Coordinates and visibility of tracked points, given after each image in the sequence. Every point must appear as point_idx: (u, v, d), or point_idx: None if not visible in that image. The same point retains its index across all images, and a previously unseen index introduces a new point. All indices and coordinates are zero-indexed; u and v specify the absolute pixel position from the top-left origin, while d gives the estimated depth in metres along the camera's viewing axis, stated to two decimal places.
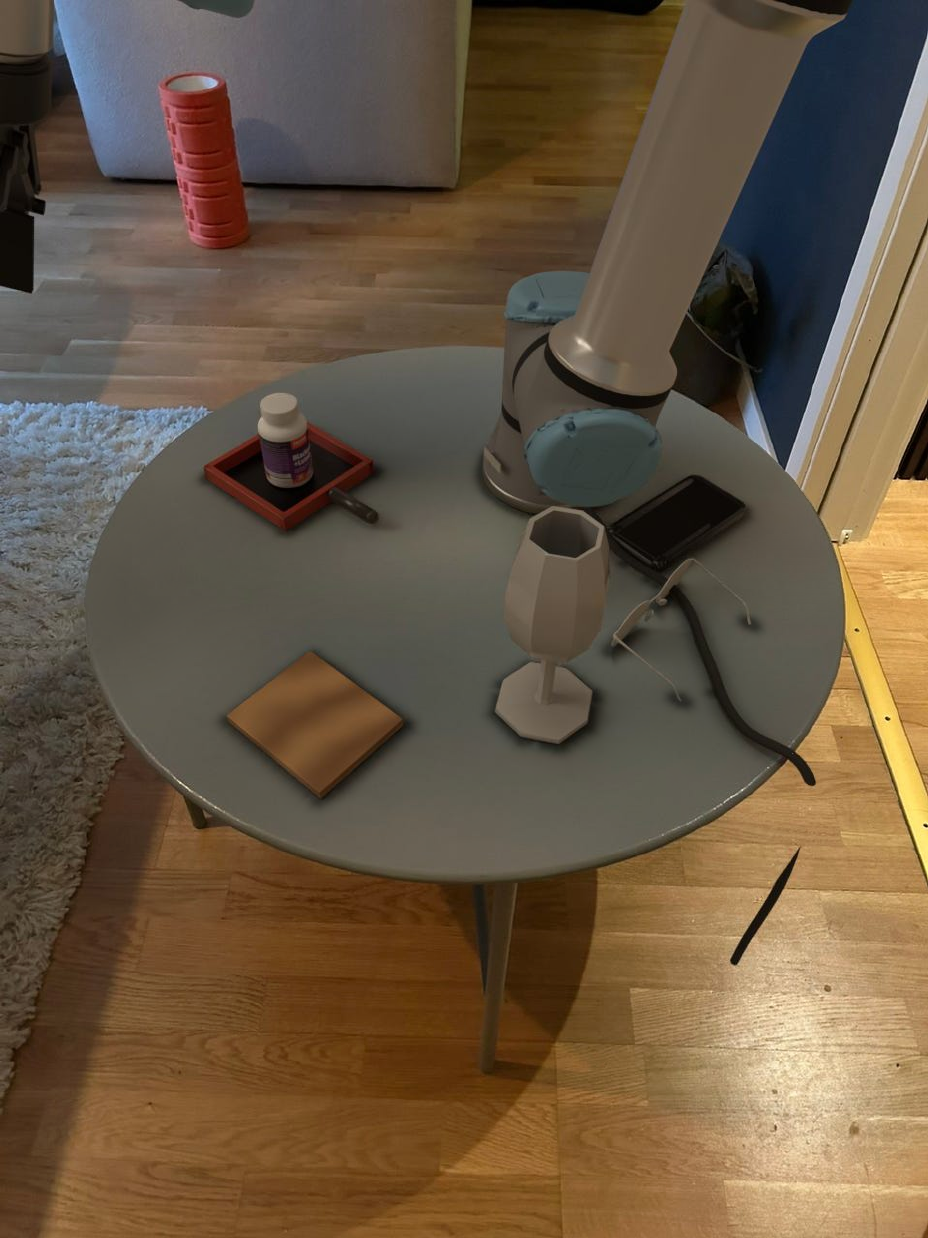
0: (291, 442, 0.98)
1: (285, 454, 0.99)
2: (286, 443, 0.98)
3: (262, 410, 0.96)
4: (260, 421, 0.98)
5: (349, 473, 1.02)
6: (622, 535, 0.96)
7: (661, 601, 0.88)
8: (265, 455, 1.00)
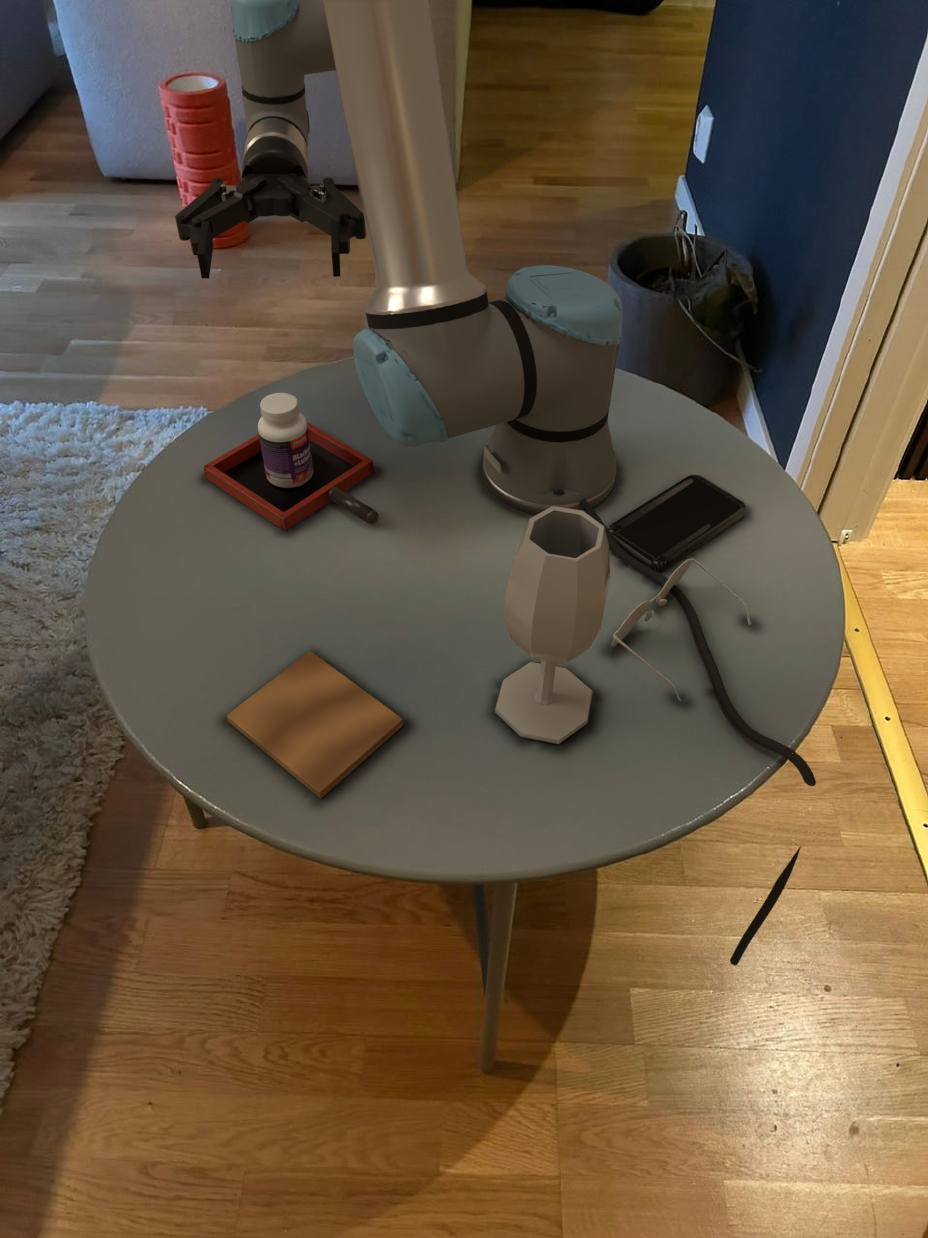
0: (291, 442, 0.98)
1: (285, 454, 0.99)
2: (286, 443, 0.98)
3: (262, 410, 0.96)
4: (260, 421, 0.98)
5: (349, 473, 1.02)
6: (622, 535, 0.96)
7: (661, 601, 0.88)
8: (265, 455, 1.00)
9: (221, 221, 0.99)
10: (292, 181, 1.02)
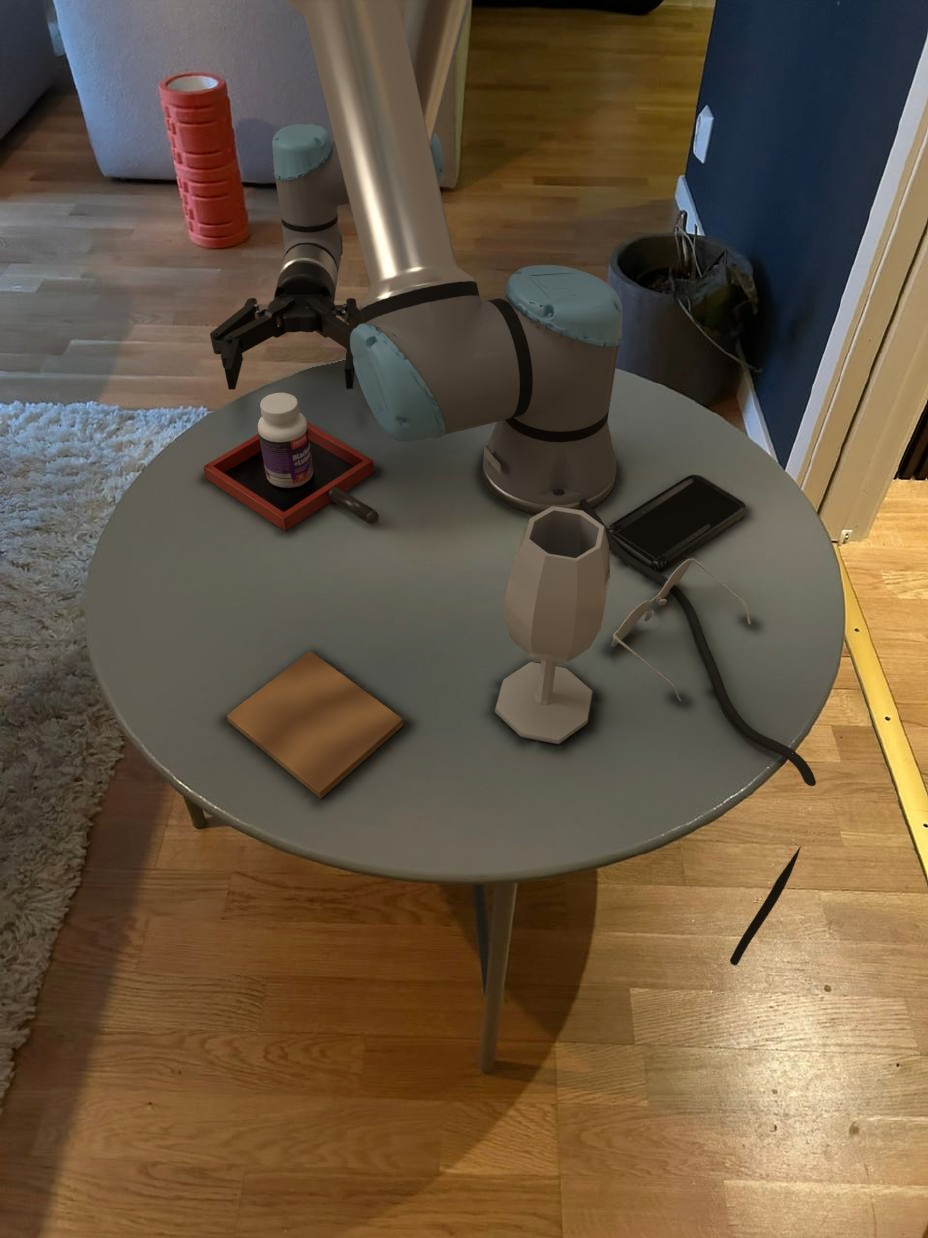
0: (291, 442, 0.98)
1: (285, 454, 0.99)
2: (286, 443, 0.98)
3: (262, 410, 0.96)
4: (260, 421, 0.98)
5: (349, 473, 1.02)
6: (622, 535, 0.96)
7: (661, 601, 0.88)
8: (265, 455, 1.00)
9: (251, 337, 1.10)
10: (317, 302, 1.12)
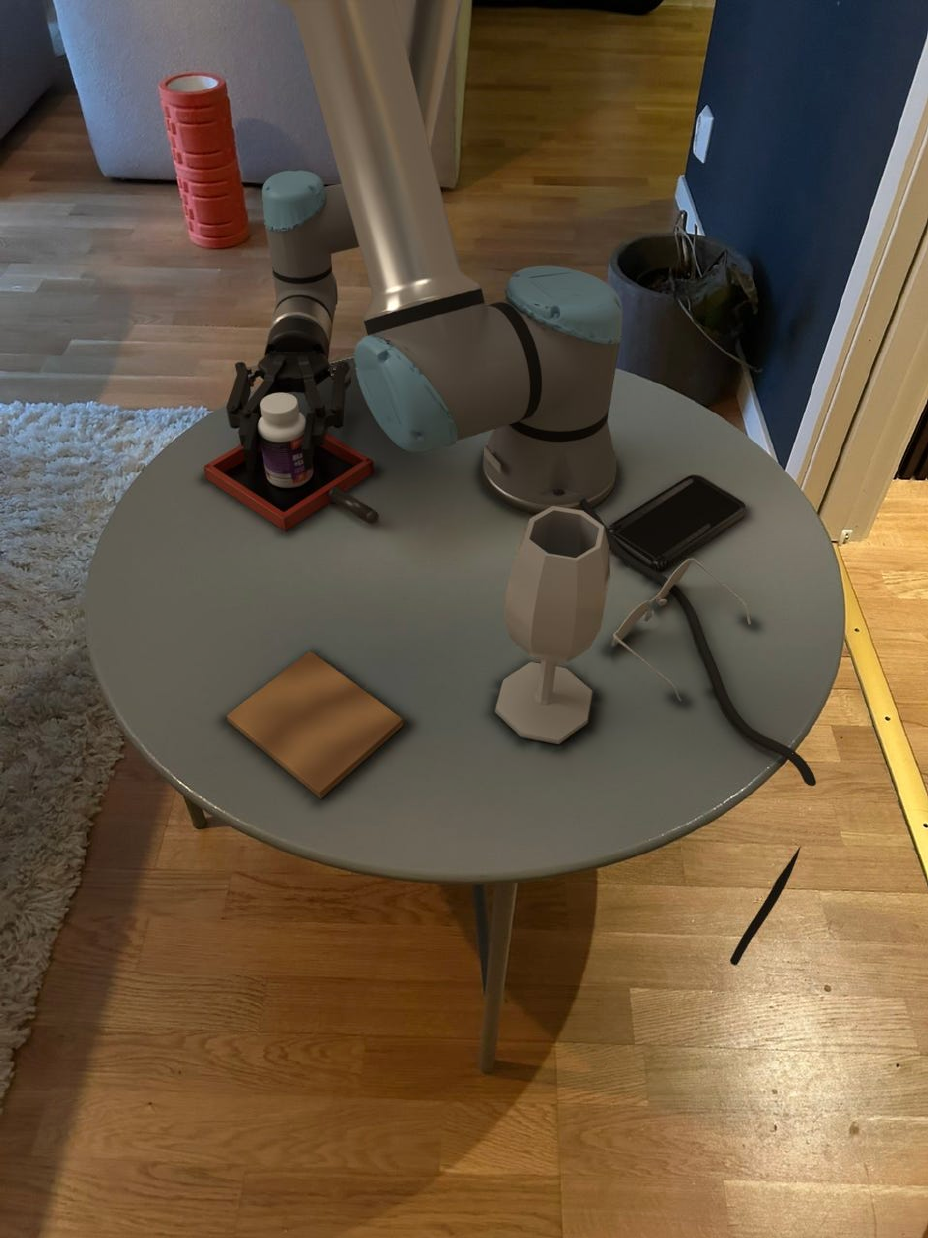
0: (291, 442, 0.98)
1: (285, 454, 0.99)
2: (286, 443, 0.98)
3: (262, 410, 0.96)
4: (260, 421, 0.98)
5: (349, 473, 1.02)
6: (622, 535, 0.96)
7: (661, 601, 0.88)
8: (265, 455, 1.00)
9: None
10: (307, 362, 1.05)
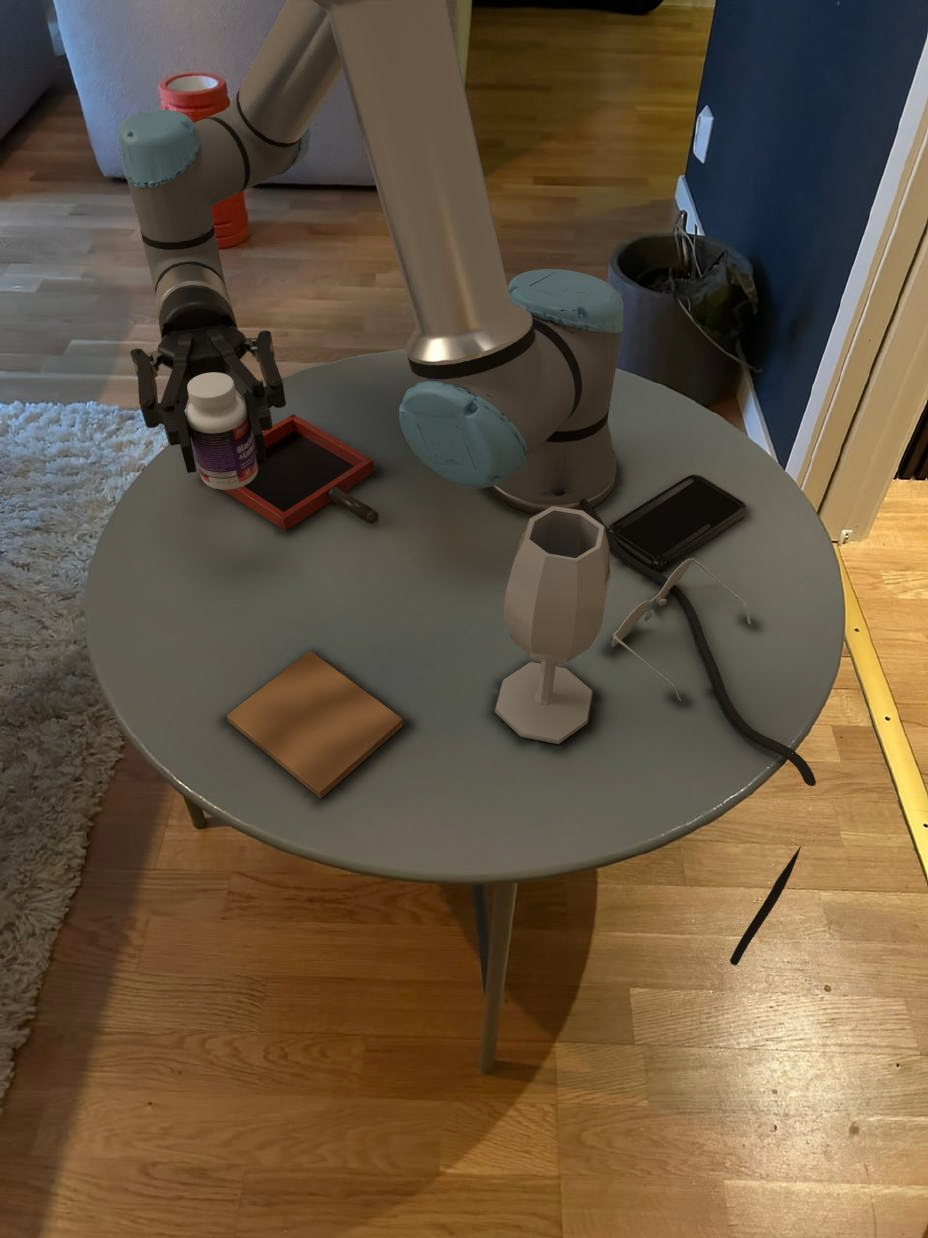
0: (234, 430, 0.80)
1: (227, 447, 0.80)
2: (228, 433, 0.79)
3: (193, 396, 0.78)
4: (189, 411, 0.79)
5: (349, 473, 1.02)
6: (622, 535, 0.96)
7: (661, 601, 0.88)
8: (201, 453, 0.81)
9: (182, 395, 0.83)
10: (221, 337, 0.87)
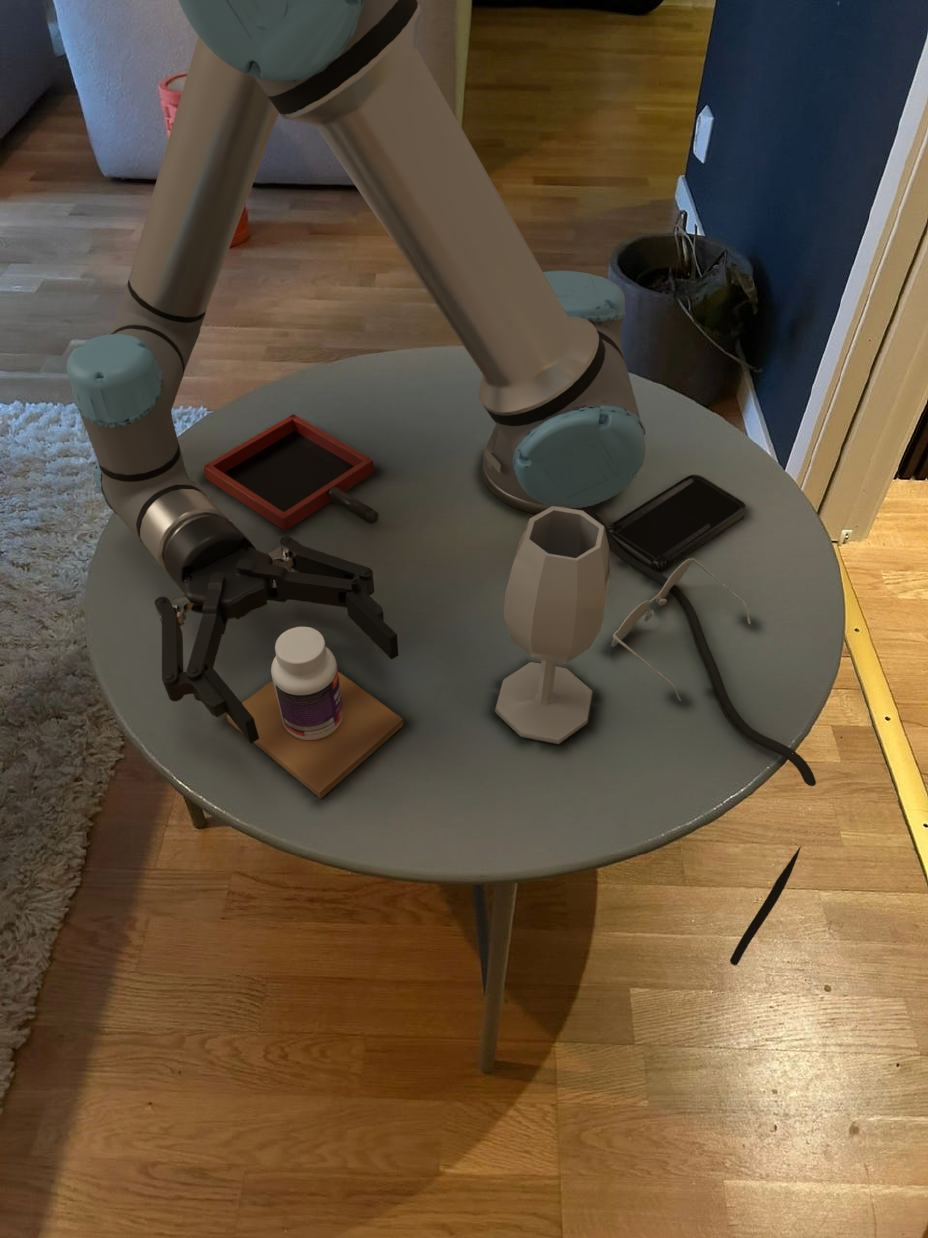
0: (332, 682, 0.74)
1: (327, 699, 0.75)
2: (328, 687, 0.74)
3: (290, 664, 0.72)
4: (280, 677, 0.73)
5: (349, 473, 1.02)
6: (622, 535, 0.96)
7: (661, 601, 0.88)
8: (298, 713, 0.75)
9: (211, 654, 0.75)
10: (256, 563, 0.80)
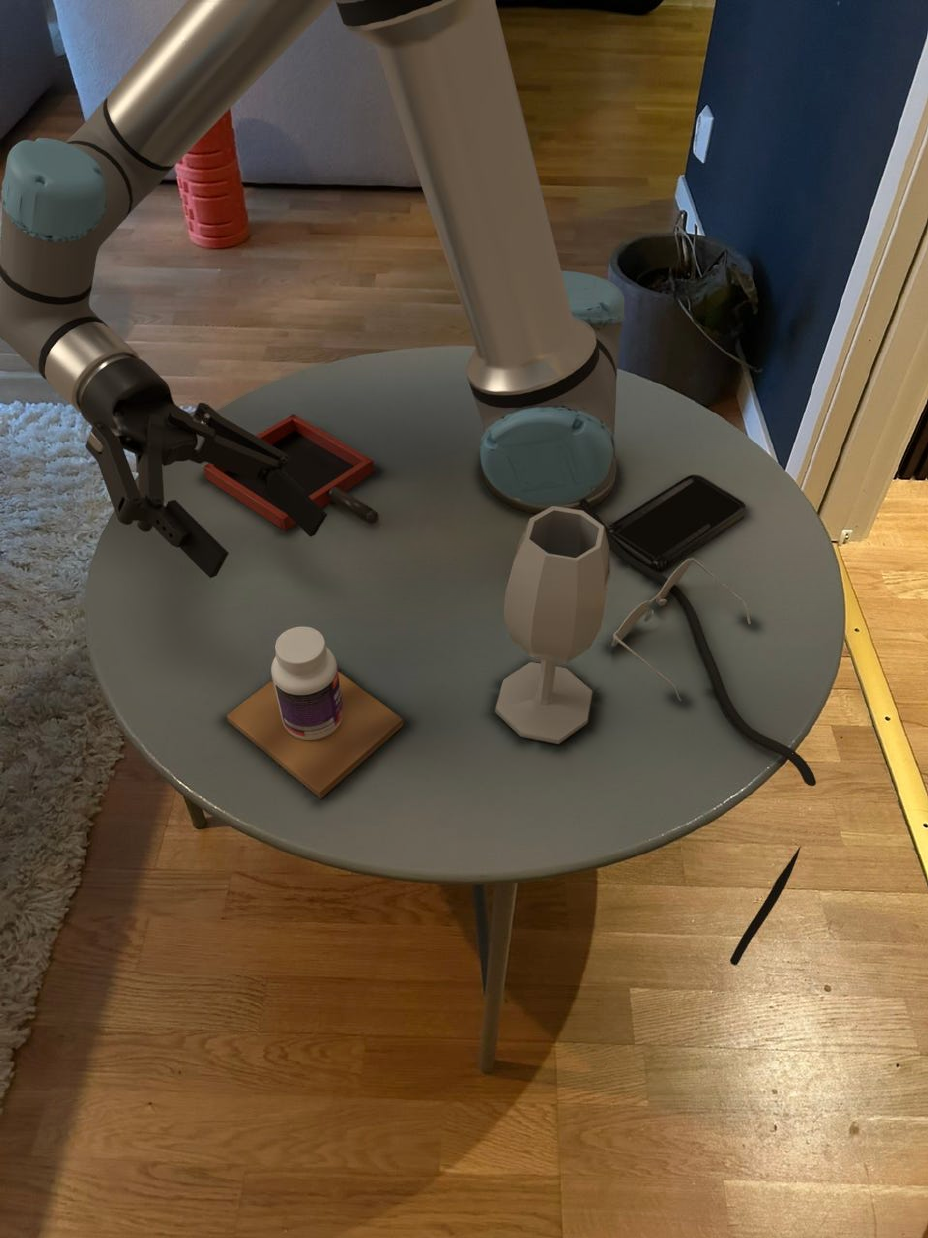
0: (332, 681, 0.74)
1: (327, 699, 0.75)
2: (328, 687, 0.74)
3: (290, 663, 0.72)
4: (280, 677, 0.73)
5: (349, 473, 1.02)
6: (622, 535, 0.96)
7: (661, 601, 0.88)
8: (298, 713, 0.75)
9: None
10: (188, 418, 0.82)
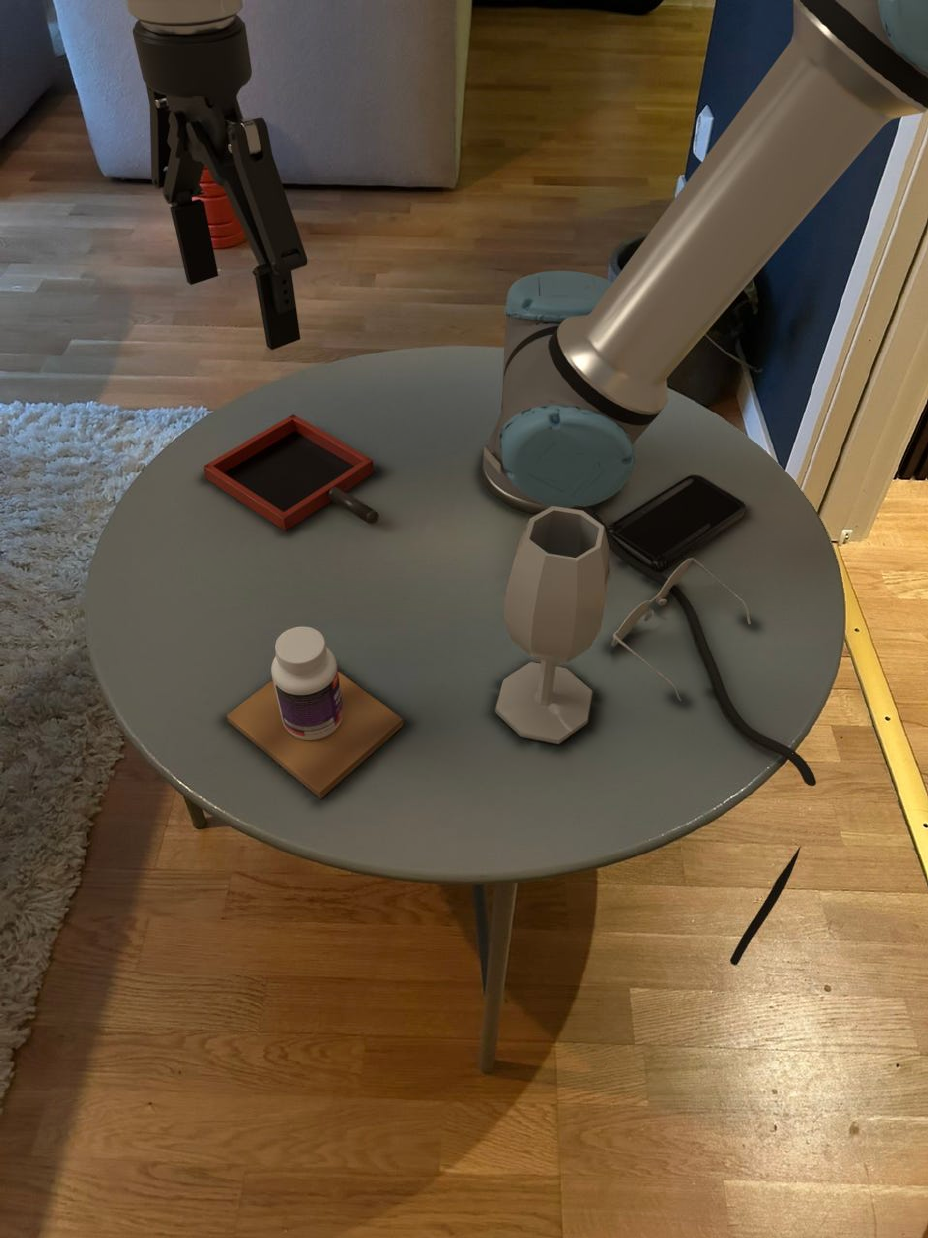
0: (332, 681, 0.74)
1: (327, 699, 0.75)
2: (328, 687, 0.74)
3: (290, 663, 0.72)
4: (280, 677, 0.73)
5: (349, 473, 1.02)
6: (622, 535, 0.96)
7: (661, 601, 0.88)
8: (298, 713, 0.75)
9: None
10: None
